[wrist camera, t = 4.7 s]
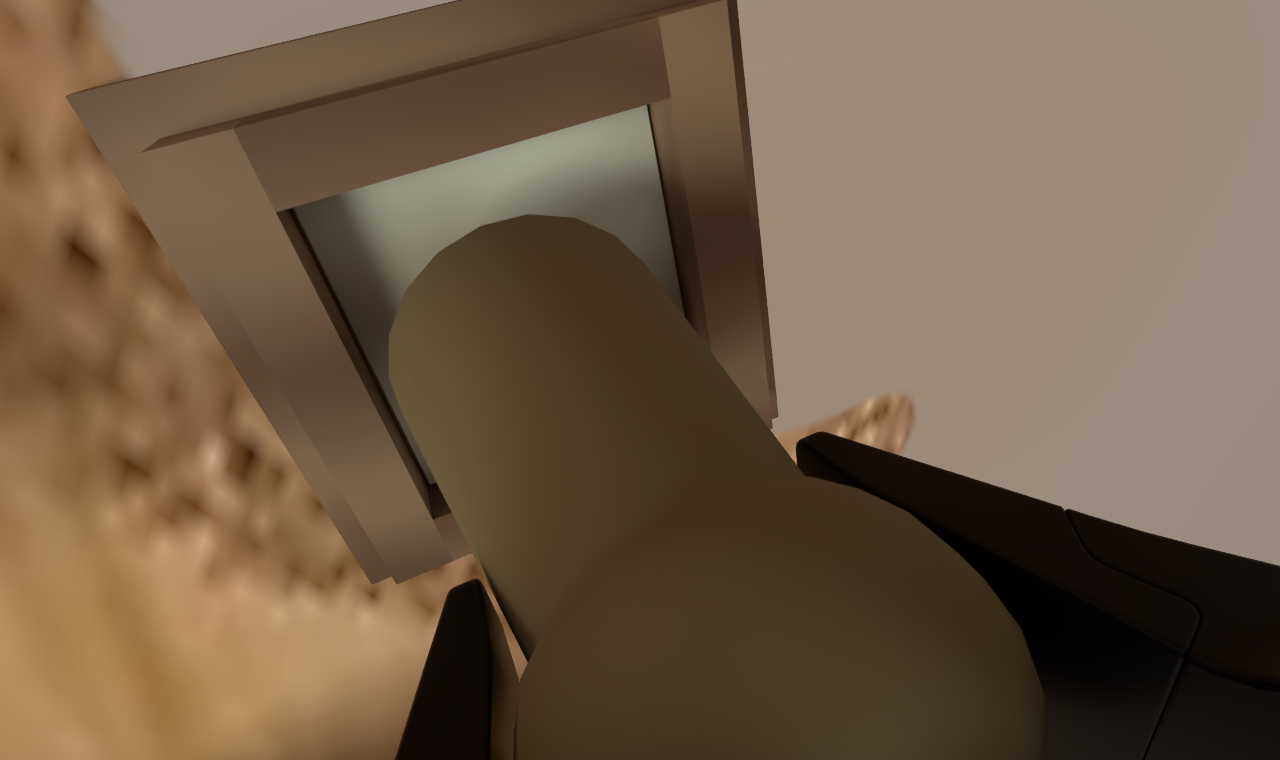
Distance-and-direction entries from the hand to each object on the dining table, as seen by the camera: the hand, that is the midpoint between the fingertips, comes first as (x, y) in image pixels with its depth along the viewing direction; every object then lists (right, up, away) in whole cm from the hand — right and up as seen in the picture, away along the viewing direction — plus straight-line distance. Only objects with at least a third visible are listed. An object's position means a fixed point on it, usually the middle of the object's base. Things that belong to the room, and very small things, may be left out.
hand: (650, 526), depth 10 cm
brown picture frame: (-3, +4, +8) cm, 10 cm away
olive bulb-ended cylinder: (-2, +3, +5) cm, 6 cm away
